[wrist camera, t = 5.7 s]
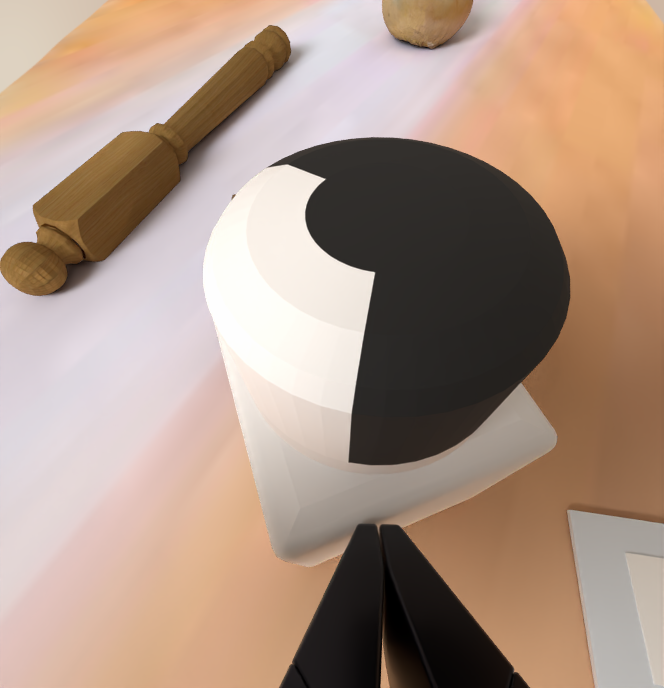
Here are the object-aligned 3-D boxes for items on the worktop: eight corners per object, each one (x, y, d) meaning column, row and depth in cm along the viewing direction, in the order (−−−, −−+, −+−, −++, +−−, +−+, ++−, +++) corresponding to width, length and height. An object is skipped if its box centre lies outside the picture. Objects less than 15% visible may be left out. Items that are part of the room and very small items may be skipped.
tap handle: (291, 24, 32) (16, 274, 18) (294, 66, 35) (58, 313, 20) (259, 20, 33) (-32, 257, 18) (265, 61, 35) (15, 297, 21)
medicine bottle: (397, 350, 18) (467, 67, 8) (476, 496, 15) (776, 320, 5) (254, 399, 17) (127, 140, 7) (304, 571, 14) (193, 556, 3)
